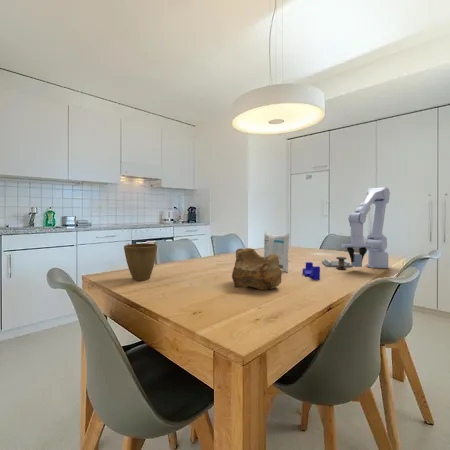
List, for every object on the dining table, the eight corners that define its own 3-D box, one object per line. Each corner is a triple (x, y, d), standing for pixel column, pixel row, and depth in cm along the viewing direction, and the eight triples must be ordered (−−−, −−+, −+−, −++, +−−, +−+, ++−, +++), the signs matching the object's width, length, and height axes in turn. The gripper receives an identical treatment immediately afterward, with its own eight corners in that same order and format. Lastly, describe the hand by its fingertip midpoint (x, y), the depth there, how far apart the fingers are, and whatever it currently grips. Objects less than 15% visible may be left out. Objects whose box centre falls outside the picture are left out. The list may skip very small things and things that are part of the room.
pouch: (281, 273, 140) (281, 233, 139) (259, 267, 157) (259, 231, 156) (293, 272, 144) (293, 233, 143) (271, 265, 161) (271, 231, 160)
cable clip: (302, 274, 140) (302, 262, 139) (311, 274, 140) (311, 262, 139) (309, 280, 128) (310, 267, 127) (319, 280, 128) (319, 267, 127)
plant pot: (118, 279, 130) (117, 245, 129) (146, 274, 141) (146, 242, 140) (135, 285, 120) (134, 248, 119) (164, 279, 131) (163, 244, 130)
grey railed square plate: (346, 262, 168) (346, 258, 168) (352, 267, 155) (352, 263, 154) (321, 262, 171) (321, 258, 170) (326, 266, 157) (326, 262, 157)
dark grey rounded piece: (344, 267, 154) (345, 257, 154) (347, 269, 149) (347, 258, 149) (335, 267, 155) (335, 256, 154) (337, 269, 150) (337, 258, 149)
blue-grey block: (358, 264, 147) (358, 253, 147) (361, 267, 141) (362, 255, 141) (351, 264, 148) (351, 253, 148) (354, 266, 142) (354, 255, 142)
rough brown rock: (217, 285, 121) (215, 252, 119) (245, 276, 131) (243, 245, 130) (257, 300, 103) (255, 260, 101) (285, 288, 114) (284, 252, 112)
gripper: (343, 236, 141) (343, 263, 142) (374, 236, 139) (374, 263, 139) (340, 235, 148) (340, 260, 149) (369, 235, 146) (369, 261, 146)
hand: (356, 262), depth 145 cm, fingers closed on blue-grey block, 3 cm apart
